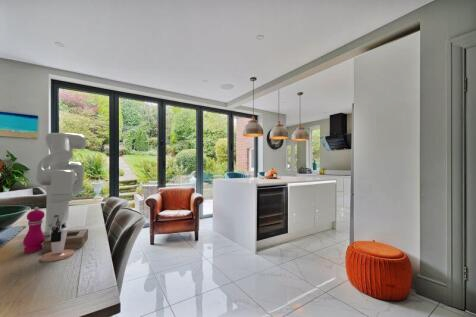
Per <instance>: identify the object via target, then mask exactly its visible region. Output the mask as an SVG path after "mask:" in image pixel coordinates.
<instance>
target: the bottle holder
mask: <svg viewBox="0 0 476 317" xmlns="http://www.w3.org/2000/svg"><path fill="white" fill-rule="evenodd" d="M88 238H89V228H83V229H72V230H69V231H67V236H66V241H65V245H64V249H71V250H76V249H81V248H83V246H84V245H85V243H86V242H87V240H88ZM42 250H43V253H44V254H45V253H49V252H52V247H51V237H50V236H49V237H48V238H46V239H45V240H44V242H43V249H42Z"/></svg>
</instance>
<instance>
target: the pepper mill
mask: <svg viewBox="0 0 476 317" xmlns="http://www.w3.org/2000/svg"><path fill="white" fill-rule="evenodd" d="M45 216H46V213H45V212H44V211H43V210H40V207H39V206H35V207H33V210H31V211H30V212H28V213H27V215H26V219H27V220H28V221H27V225H28V231H27V233H26V235H25V236H24V238H23V242H22V245H23V246H24V248H23V253H25V254H30V253H35V252H39V251H42V250H44V241H45V240H46V239H45V238H46V237H45V235H44V234H43V229H42V224H43V219H44V218H45Z"/></svg>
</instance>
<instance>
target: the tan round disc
mask: <svg viewBox="0 0 476 317" xmlns="http://www.w3.org/2000/svg"><path fill="white" fill-rule="evenodd" d="M74 252H75V249H64V250H63V252H61V253H57V254H53V253H52V252H45V253H44V254H42V255H40V256H39V261H40V262H41V263H42V262H43V263H50V262H57V261H62V260H66V259H67V258H70V257H72V256H74Z"/></svg>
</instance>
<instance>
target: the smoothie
mask: <svg viewBox="0 0 476 317" xmlns="http://www.w3.org/2000/svg"><path fill="white" fill-rule="evenodd" d="M58 224H60V223H58ZM68 228H69V227H66V228H61V231H60V232H61V241H60V242H51V247H52V253H53V254H57V253H61V252H63V250H64V245H65V241H66V236H67V231H68ZM58 229H59V226H58ZM51 231H52V230H50V232H49V233H50V235H49V237H51Z"/></svg>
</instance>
